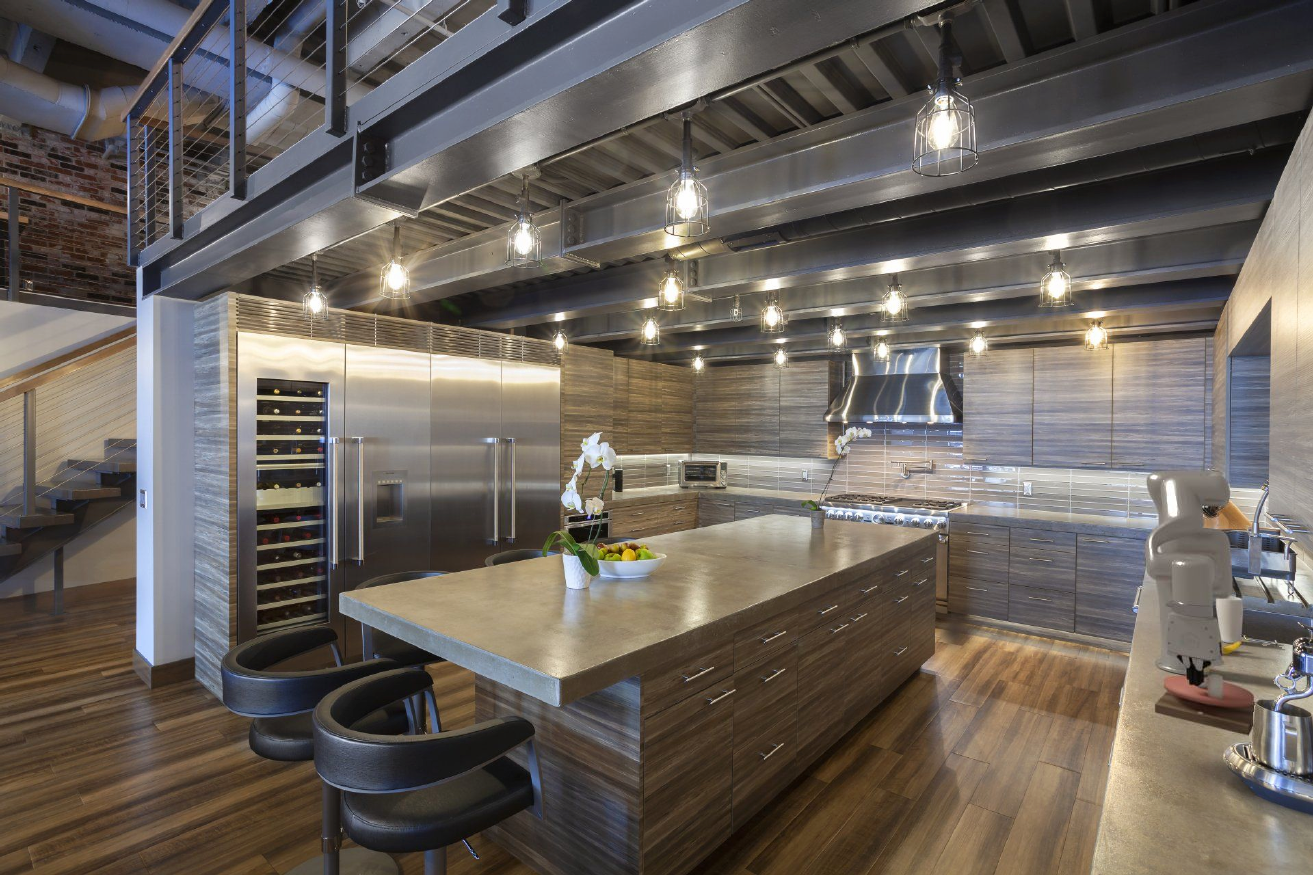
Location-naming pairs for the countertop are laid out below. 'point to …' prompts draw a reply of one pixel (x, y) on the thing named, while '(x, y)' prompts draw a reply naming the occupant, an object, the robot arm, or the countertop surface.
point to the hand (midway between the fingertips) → (1195, 684)
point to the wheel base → (1207, 713)
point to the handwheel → (1210, 691)
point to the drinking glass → (1230, 619)
